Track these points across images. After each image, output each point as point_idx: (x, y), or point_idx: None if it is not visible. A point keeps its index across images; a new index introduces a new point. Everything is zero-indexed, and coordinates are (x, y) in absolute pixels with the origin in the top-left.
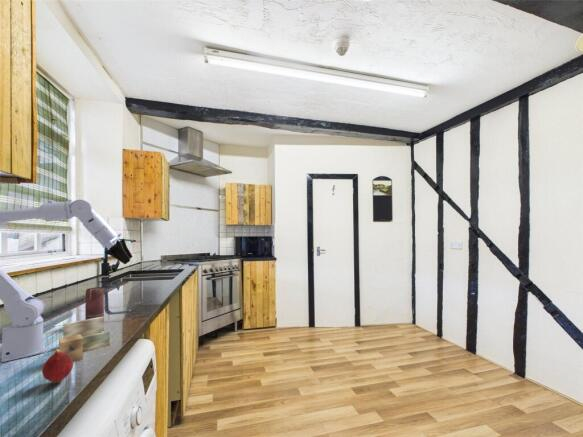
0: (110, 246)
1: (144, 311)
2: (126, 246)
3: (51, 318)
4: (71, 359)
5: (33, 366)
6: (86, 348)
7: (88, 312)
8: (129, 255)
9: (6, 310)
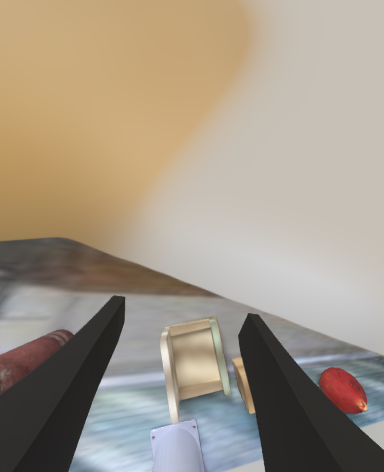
0: None
1: (33, 247)
2: (61, 376)
3: None
4: (345, 375)
5: (249, 423)
6: (222, 352)
7: None
8: (118, 318)
9: None
